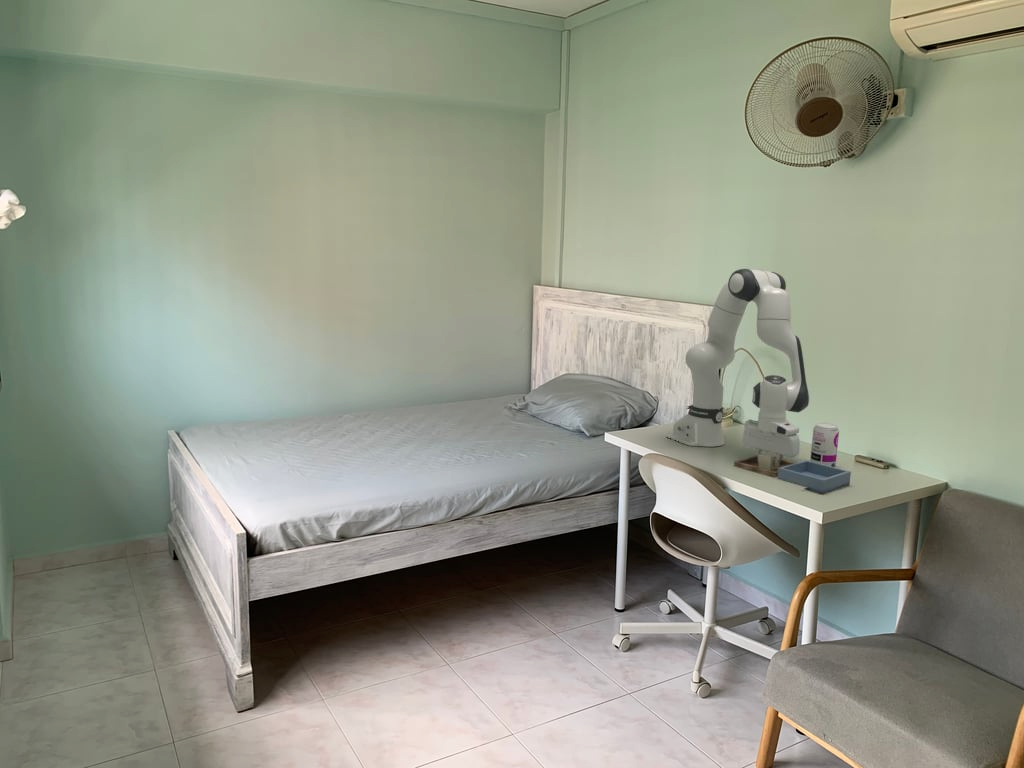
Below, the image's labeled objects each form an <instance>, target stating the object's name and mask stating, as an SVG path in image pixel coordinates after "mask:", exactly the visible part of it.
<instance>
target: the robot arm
mask: <svg viewBox="0 0 1024 768" xmlns="http://www.w3.org/2000/svg"><path fill="white" fill-rule="evenodd" d="M786 289H787V282H786V280H785V278H784V277H783V276H782V275H780V274H779V273H777V272H775V271H768V270H764V269H749V268H740V269H737V270H735V271H733V272H732V273H731V274H730V276H729V279H728V280H727V281H726V282H725V283H724V284H723V286H722V288H721V290H720V291H719V294H718V295H717V297H716V299H715V302H714V305H713V307H712V310H711V313H710V315H709V318H708V320H707V327H708V335H707V339H706V340H705V342H700V343H696V344H695V345H693V346H692V347H691V348H689V349H688V350H687V352H686V354H685V364H686V366H687V367H688V369H689V370H690V373H691V377H692V384H693V385H692V386H693V388H692V404H690V405H687V406H686V410H688V413H687V414H685V415H684V416H682V417H681V418H679V419H678V420H676V421H675V422H674V424H673V428H672V431H670V432H668V433H667V434H666V436H665V437H666V438H667V437H668V439H670V438H671V439H670V440H673V441H675V440H676V441H675V442H678V441H679V443H681V444H684V445H687V446H688V447H689V446H690V447H711V448H712V447H719V446H724V444H725V440H724V436H723V424H722V423H723V422H722V421H723V418H724V407H723V401H724V399H723V398H724V385H723V384H722V383H721V378H720V373H719V370H720V369H725V368H726V367H728V366H729V365H730V364H731V363H732V362H733V361H734V359H735V356H736V350H735V342H736V336H737V333H738V330H739V326H740V324H741V321H742V319H743V317H744V314H745V311H746V308H747V306H748V304H749V303H750V302H753V303H755V305H756V307H757V314H756V334H757V337H758V338H759V339H760V340H761V342H762V343H764V344H766V345H767V346H769V347H771V348H773V349H776V350H779V351H781V352H783V353H784V354H785V355H787V357H788V358H789V362H790V363H789V364H790V370H791V376H792V377H791V379H792V381H791V382H788V381H787V379H786V378H785V377H784V376H781V375H774V374H773V375H767V376H765V377H763V380H762V381H760V382H757V384H756V385H754V386H753V388H752V389H753V391H752V392H753V393H752V399H751V401H752V404H753V405H754V406H755V407H756V408H758V409H760V410H759V412H758V417H757V418H758V419H757V420H755V419H754V420H753V419H748V420H746V421H745V423H744V429H743V434H742V438H741V442H742V445H743V446H744V447H749V448H753V449H755V454H756V456H757V457H758V462H759V454H762V453H763V451H765V452H768V453H772V454H776V457H777V459H776V460H775V461H773V466H776V467H778V466H779V463H780V460H781V459H782V460H783V458H784V457H788V458H795V457H797V456H798V455H799V454H800V444H801V443H800V437H799V435H798V434H799V432H800V428H799V426H797V425H795V424H794V423H793V422H791V421H789V420H788V419H787V413H786V411H788V412H793V413H801V412H802V411H804V410H806V408H808V406H809V403H810V393H809V390H808V385H807V380H806V371H805V362H804V357H803V348H802V344H801V340H800V338H799V337H798V336H797V335H795V334H794V332H793V330H792V324H791V318H792V317H791V316H792V315H791V314H792V313H791V311H792V309H791V302H790V296H789V295H790V294H789V293H788V292H787V290H786Z"/></svg>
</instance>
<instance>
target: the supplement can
mask: <svg viewBox="0 0 1024 768" xmlns="http://www.w3.org/2000/svg"><path fill="white" fill-rule="evenodd" d="M839 434H840V430H839V428H838V425H837V424H833V423H826V422H818V423H815V426H813V428H812V439H811V450H810V460H809V461H812V462H815V463H819V464H823V465H827V466H831V467H835V468H837V467H836V465H837V464H836V463H837V455H838V446H839V436H840V435H839Z"/></svg>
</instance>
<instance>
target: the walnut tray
mask: <svg viewBox="0 0 1024 768" xmlns="http://www.w3.org/2000/svg"><path fill="white" fill-rule="evenodd" d="M794 463H795V462H792V461H789V460H786V459H783V458H782V459H781V460H780V463H779V466H778V468H780V467H784V466H787V465H791V464H794ZM758 465H759V462H758V457H757V455H754V456H751V457H747V458H743V459H739V460H735V461H734V462H733V467H737V468H740V469H743V470H746V471H750V472H754V473H757V474H761V475H765V476H767V477H771V478H773V479H774V478H778V468H776V469H773V470H767V469H763V468H760V467H758Z"/></svg>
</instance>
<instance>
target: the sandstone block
mask: <svg viewBox="0 0 1024 768" xmlns="http://www.w3.org/2000/svg"><path fill="white" fill-rule="evenodd" d="M761 453H762V454H759V465H758V467H760V468H763V469H767V470H773V469H776V468H778V467H776V466H773V461H775V460H776V459H777V457H776V454H775V453H772V452H768V451H765V452H761Z"/></svg>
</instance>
